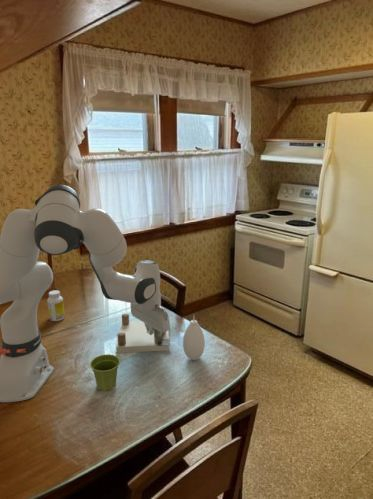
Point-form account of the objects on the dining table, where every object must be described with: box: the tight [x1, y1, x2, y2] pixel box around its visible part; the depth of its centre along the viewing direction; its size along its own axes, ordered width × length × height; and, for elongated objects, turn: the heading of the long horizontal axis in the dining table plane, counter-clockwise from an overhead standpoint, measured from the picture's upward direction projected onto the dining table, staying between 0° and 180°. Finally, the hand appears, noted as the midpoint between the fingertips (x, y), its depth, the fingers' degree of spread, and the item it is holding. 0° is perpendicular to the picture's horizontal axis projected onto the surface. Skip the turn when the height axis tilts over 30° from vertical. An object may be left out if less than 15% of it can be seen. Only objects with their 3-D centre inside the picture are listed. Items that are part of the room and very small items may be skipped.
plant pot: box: [89, 354, 121, 391], centre depth 120 cm, size 9×9×9 cm
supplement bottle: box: [46, 289, 66, 322], centre depth 164 cm, size 7×7×13 cm
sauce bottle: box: [182, 315, 206, 361], centre depth 133 cm, size 8×8×18 cm
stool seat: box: [115, 313, 171, 354], centre depth 148 cm, size 20×20×6 cm
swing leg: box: [154, 329, 165, 343], centre depth 144 cm, size 3×10×6 cm, turn 168°
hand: (150, 333), depth 142 cm, fingers closed
